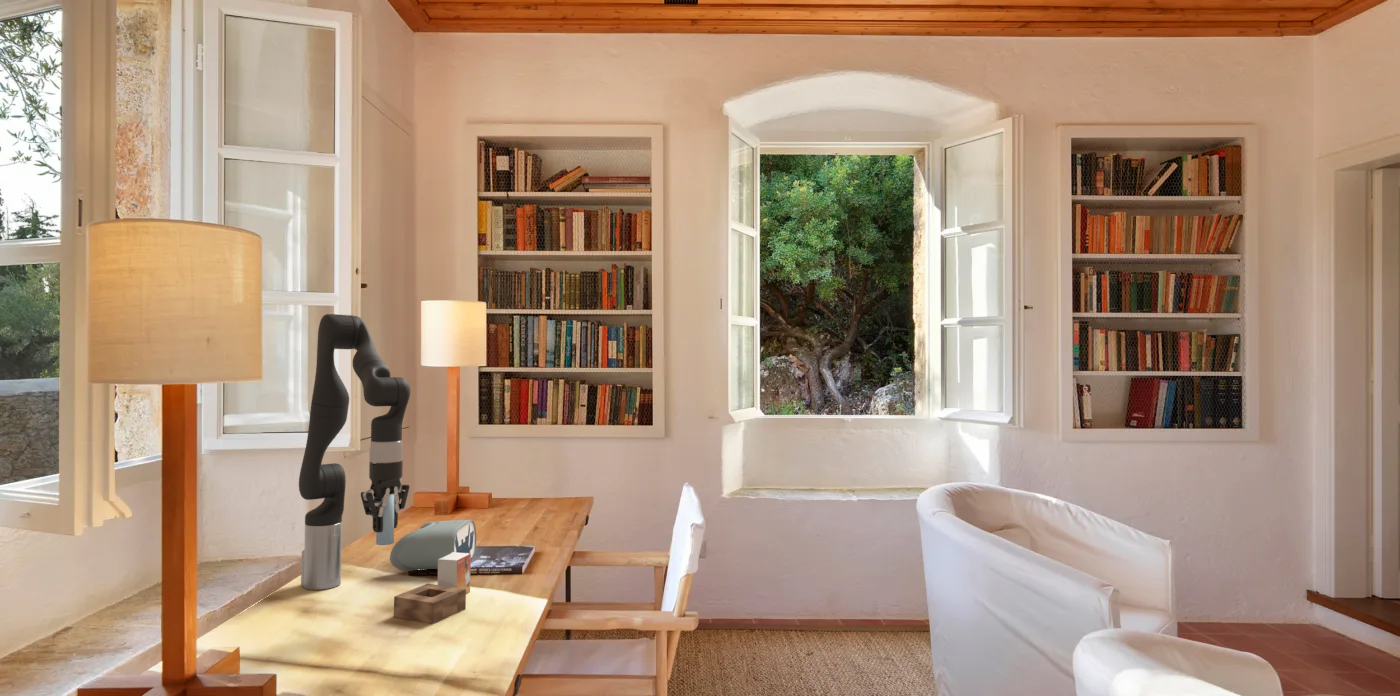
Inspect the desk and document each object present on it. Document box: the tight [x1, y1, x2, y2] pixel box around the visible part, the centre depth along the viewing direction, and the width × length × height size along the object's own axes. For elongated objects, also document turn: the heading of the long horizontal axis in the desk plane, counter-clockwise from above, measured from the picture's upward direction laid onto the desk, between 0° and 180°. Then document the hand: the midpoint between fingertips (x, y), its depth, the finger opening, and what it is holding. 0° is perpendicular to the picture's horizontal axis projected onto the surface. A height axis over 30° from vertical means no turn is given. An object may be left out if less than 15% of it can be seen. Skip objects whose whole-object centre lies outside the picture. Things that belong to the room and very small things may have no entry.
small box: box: [436, 552, 472, 595], centre depth 213 cm, size 8×6×10 cm
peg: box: [375, 494, 395, 546], centre depth 194 cm, size 4×4×12 cm
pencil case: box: [389, 519, 477, 572], centre depth 242 cm, size 22×19×13 cm
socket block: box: [393, 583, 467, 625], centre depth 199 cm, size 12×12×5 cm
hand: (385, 529), depth 194 cm, fingers closed on peg, 4 cm apart
